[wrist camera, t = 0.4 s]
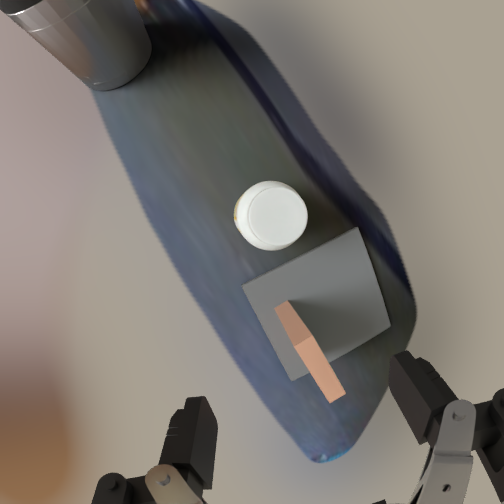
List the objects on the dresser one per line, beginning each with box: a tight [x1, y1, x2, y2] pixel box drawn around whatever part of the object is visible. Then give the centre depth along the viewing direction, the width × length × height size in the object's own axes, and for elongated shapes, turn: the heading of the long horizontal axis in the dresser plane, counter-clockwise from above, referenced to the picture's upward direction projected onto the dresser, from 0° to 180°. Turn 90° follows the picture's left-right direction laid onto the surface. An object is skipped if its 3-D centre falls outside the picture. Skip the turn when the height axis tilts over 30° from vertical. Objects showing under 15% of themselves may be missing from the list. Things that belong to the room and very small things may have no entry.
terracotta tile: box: [274, 300, 346, 403], centre depth 25 cm, size 2×7×9 cm, turn 31°
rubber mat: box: [241, 227, 391, 381], centre depth 30 cm, size 13×14×1 cm
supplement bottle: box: [234, 181, 308, 250], centre depth 23 cm, size 5×5×10 cm
